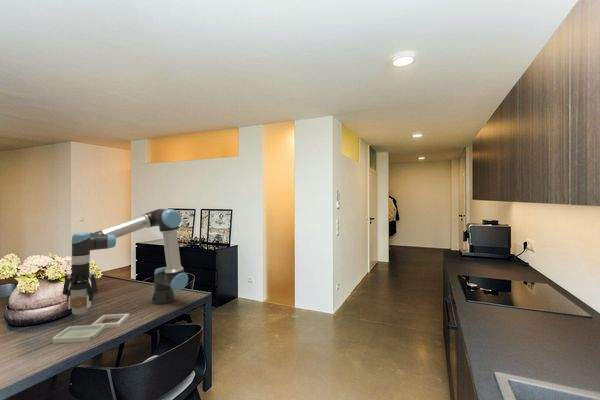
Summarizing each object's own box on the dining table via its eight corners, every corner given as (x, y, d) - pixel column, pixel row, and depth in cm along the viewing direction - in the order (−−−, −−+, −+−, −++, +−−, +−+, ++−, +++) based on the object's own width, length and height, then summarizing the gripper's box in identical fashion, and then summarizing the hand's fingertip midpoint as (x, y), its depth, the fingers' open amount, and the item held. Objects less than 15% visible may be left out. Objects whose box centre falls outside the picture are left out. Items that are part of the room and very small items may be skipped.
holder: (129, 316, 172) (129, 313, 172) (118, 327, 158) (118, 323, 158) (103, 318, 169) (103, 314, 169) (90, 328, 156) (90, 325, 156)
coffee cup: (67, 316, 142) (68, 286, 142) (71, 310, 149) (72, 282, 149) (88, 313, 146) (88, 284, 146) (91, 308, 153) (91, 280, 153)
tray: (105, 328, 156) (105, 324, 156) (91, 341, 142) (91, 336, 142) (68, 330, 153) (68, 326, 153) (50, 343, 139) (50, 339, 139)
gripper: (106, 261, 153) (105, 303, 153) (63, 261, 149) (62, 305, 149) (98, 264, 146) (98, 309, 145) (53, 265, 142) (52, 311, 142)
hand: (79, 307), depth 147 cm, fingers closed on coffee cup, 7 cm apart
